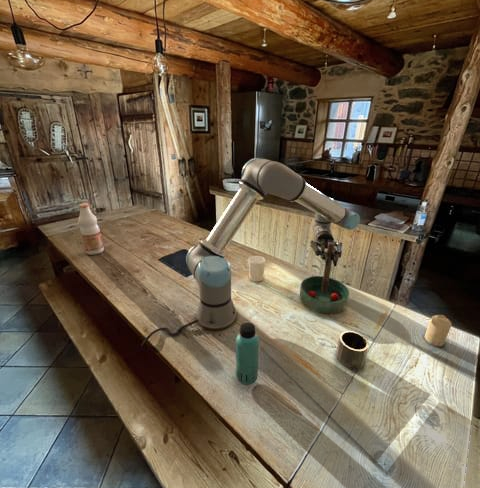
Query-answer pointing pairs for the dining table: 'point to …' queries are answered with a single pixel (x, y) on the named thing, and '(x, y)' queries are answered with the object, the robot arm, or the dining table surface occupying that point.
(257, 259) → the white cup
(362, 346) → the crock
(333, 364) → the dining table surface
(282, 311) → the dining table surface
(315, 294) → the tomato
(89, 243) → the fruit juice
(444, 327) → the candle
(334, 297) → the tomato
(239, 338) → the beverage bottle
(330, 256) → the stirring stick
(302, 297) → the bowl
